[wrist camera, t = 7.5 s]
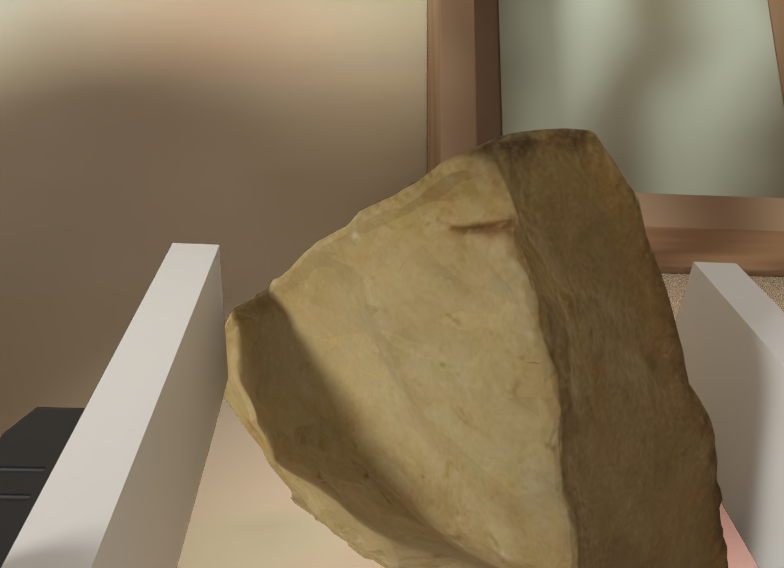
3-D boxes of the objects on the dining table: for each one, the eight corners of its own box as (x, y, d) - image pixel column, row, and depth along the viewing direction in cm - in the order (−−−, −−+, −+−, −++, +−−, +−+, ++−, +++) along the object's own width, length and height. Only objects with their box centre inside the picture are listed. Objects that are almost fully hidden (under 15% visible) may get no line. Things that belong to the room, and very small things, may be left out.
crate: (426, 265, 28) (441, 219, 23) (427, -103, 33) (440, -204, 28) (867, 279, 29) (969, 237, 24) (802, -82, 34) (877, -176, 29)
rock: (893, 684, 13) (702, 162, 14) (950, 1276, 5) (543, 79, 7) (404, 688, 18) (299, 318, 20) (117, 978, 11) (-20, 364, 12)
